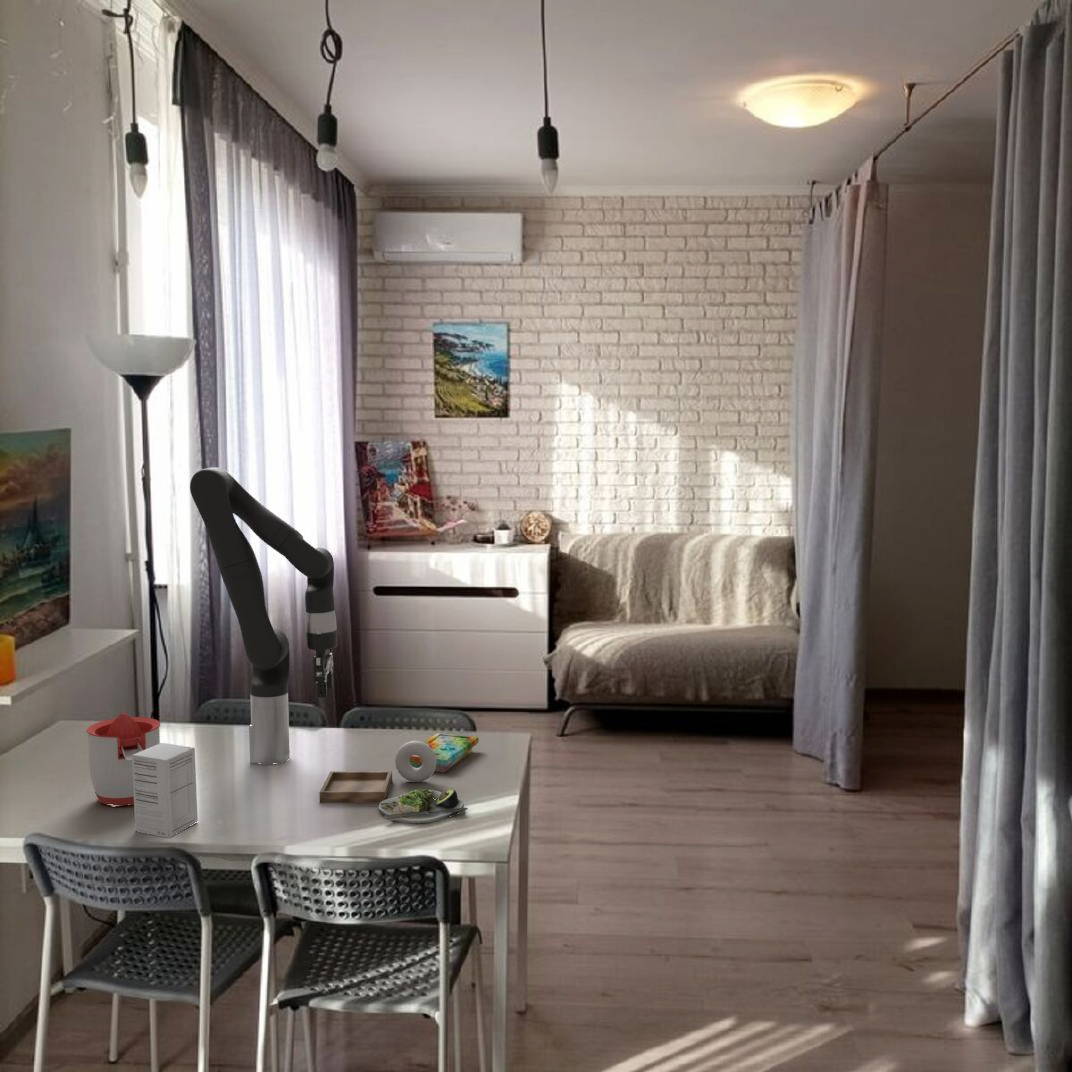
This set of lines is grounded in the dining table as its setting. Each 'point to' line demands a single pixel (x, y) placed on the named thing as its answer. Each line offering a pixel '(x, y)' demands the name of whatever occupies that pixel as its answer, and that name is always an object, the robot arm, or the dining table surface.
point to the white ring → (423, 753)
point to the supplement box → (164, 789)
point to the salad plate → (422, 806)
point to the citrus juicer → (118, 755)
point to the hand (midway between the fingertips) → (325, 692)
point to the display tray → (356, 787)
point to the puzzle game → (446, 750)
